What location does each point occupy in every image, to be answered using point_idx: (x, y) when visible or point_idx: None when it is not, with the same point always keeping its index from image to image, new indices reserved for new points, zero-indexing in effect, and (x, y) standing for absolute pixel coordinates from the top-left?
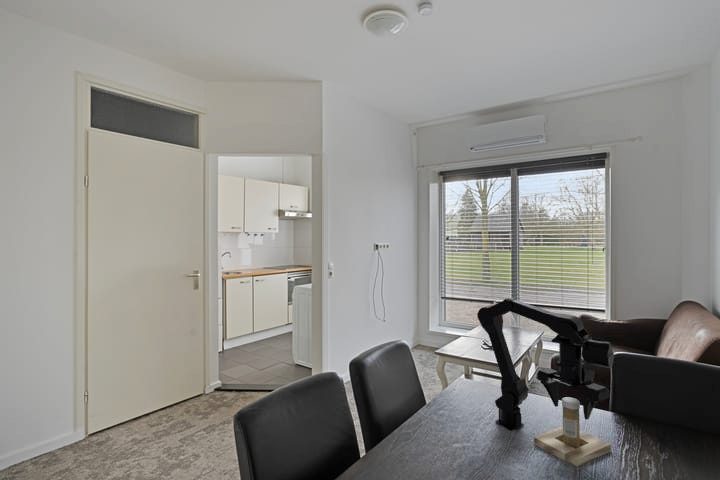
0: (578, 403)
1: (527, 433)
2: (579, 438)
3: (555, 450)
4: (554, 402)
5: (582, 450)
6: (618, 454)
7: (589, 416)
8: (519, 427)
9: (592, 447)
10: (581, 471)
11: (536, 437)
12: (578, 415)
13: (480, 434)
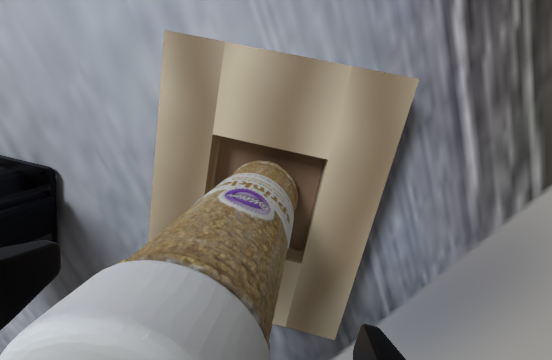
0: None
1: (101, 215)
2: (292, 206)
3: None
4: (8, 321)
5: (328, 256)
6: (441, 87)
7: (394, 349)
8: (55, 200)
9: (353, 194)
10: (353, 329)
11: None
12: (275, 302)
13: None
